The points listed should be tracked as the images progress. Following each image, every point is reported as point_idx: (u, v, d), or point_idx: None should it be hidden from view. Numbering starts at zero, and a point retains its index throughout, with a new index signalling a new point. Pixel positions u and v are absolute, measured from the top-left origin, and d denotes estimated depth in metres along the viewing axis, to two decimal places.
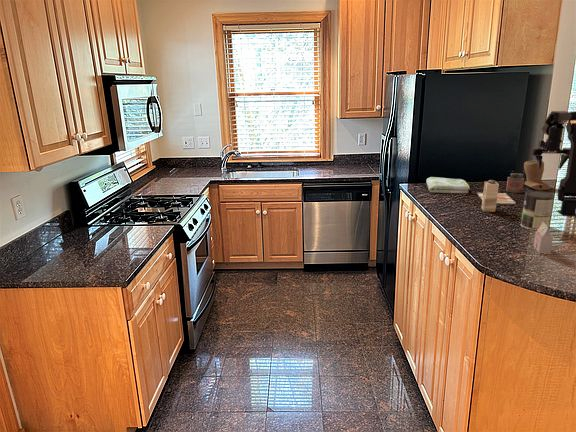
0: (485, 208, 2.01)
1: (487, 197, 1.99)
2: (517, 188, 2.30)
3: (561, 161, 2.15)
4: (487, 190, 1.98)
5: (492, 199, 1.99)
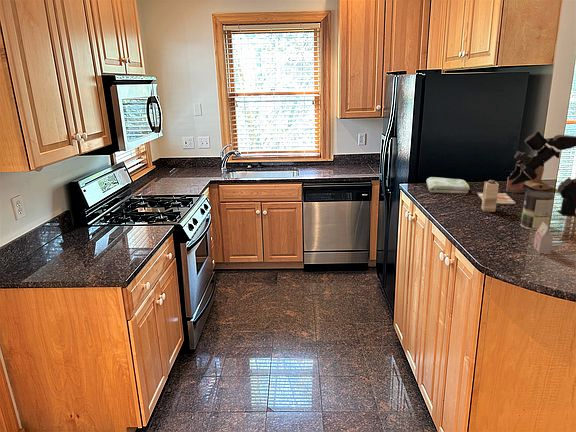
0: (485, 208, 2.01)
1: (487, 197, 1.99)
2: (517, 188, 2.30)
3: (516, 174, 2.01)
4: (487, 190, 1.98)
5: (492, 199, 1.99)
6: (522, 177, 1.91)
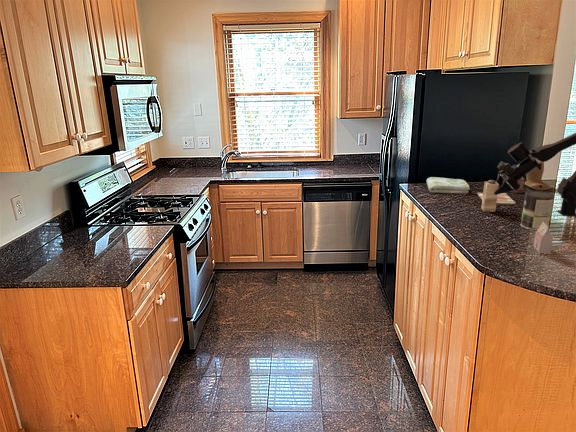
0: (485, 208, 2.01)
1: (487, 197, 1.99)
2: None
3: None
4: (487, 190, 1.98)
5: (492, 199, 1.99)
6: (505, 187, 1.93)
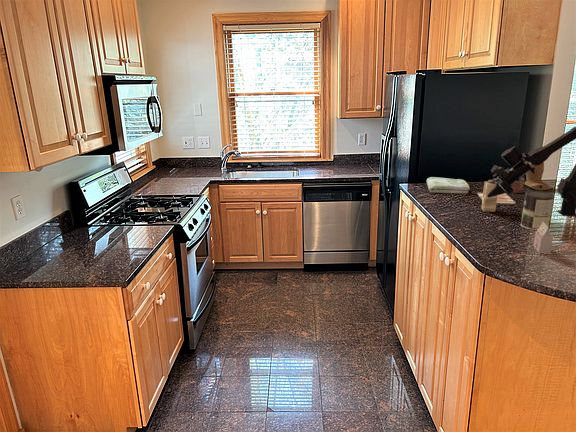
0: (485, 208, 2.01)
1: (487, 197, 1.99)
2: (517, 188, 2.30)
3: None
4: (487, 190, 1.98)
5: (492, 199, 1.99)
6: (498, 190, 1.96)
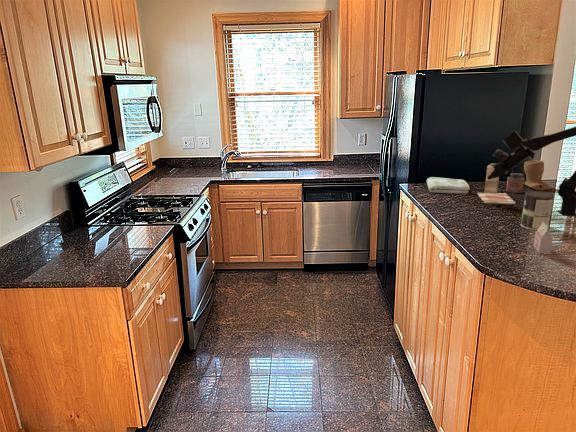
0: (485, 189, 2.12)
1: (487, 179, 2.10)
2: (517, 188, 2.30)
3: None
4: (487, 172, 2.09)
5: (492, 181, 2.09)
6: (496, 173, 2.06)
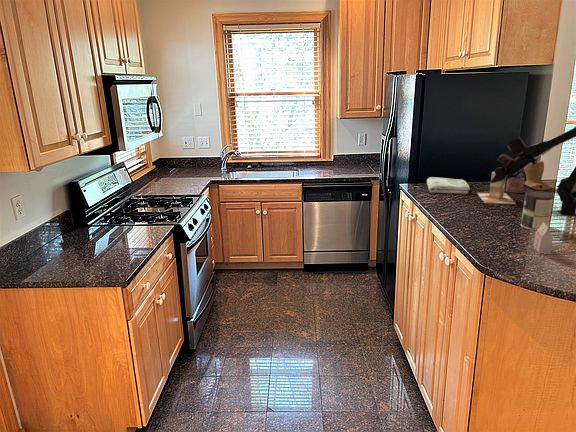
0: (490, 195, 2.20)
1: (491, 185, 2.18)
2: (517, 188, 2.30)
3: None
4: (492, 178, 2.17)
5: (495, 187, 2.17)
6: (498, 177, 2.12)
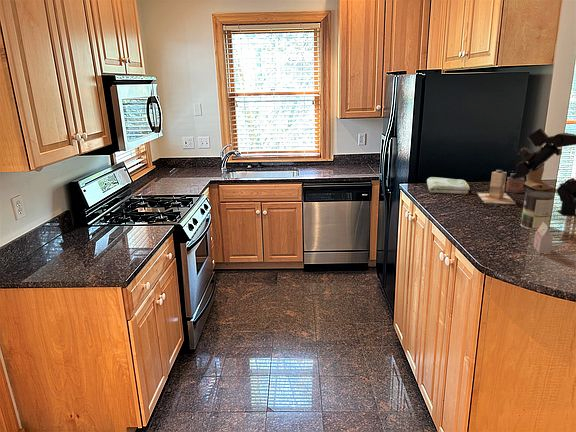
0: (490, 195, 2.20)
1: (491, 185, 2.18)
2: (517, 188, 2.30)
3: None
4: (492, 178, 2.17)
5: (495, 187, 2.17)
6: (520, 172, 2.02)
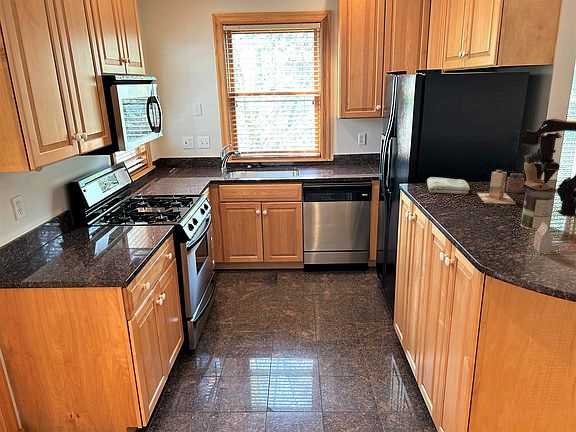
0: (490, 195, 2.20)
1: (491, 185, 2.18)
2: (517, 188, 2.30)
3: (540, 170, 2.04)
4: (492, 178, 2.17)
5: (495, 187, 2.17)
6: (548, 173, 1.94)
